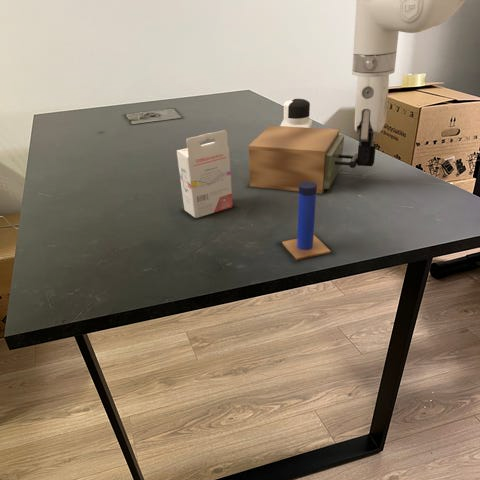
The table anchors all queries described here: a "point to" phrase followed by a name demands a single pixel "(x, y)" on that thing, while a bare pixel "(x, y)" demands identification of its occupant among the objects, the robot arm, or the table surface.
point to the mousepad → (153, 116)
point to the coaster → (302, 254)
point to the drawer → (336, 161)
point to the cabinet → (289, 157)
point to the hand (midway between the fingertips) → (365, 164)
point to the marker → (306, 215)
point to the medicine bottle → (297, 114)
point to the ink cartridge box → (205, 174)
